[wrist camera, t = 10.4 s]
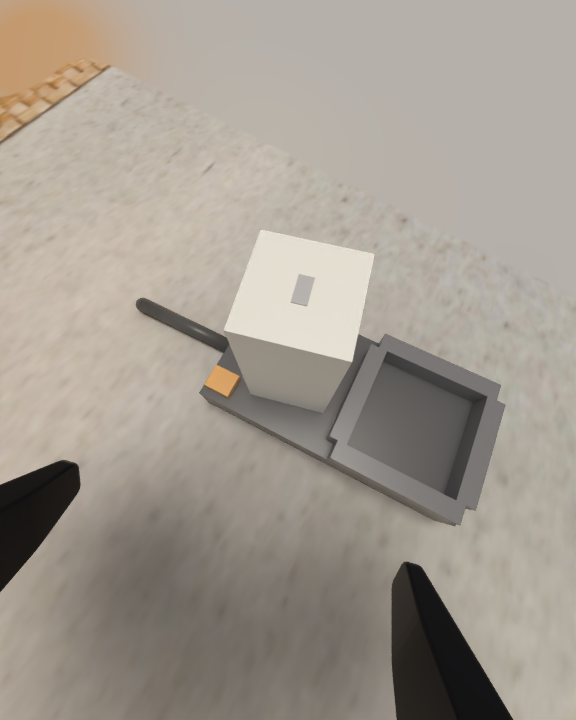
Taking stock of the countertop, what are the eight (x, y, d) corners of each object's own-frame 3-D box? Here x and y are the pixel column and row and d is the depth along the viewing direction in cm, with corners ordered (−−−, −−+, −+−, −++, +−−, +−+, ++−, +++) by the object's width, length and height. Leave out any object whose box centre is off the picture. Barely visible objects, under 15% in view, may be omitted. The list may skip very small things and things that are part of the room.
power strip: (434, 520, 20) (470, 530, 16) (107, 349, 23) (73, 323, 19) (471, 404, 22) (509, 389, 18) (170, 265, 26) (150, 229, 22)
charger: (323, 413, 19) (352, 361, 11) (250, 394, 20) (223, 329, 11) (338, 345, 21) (375, 253, 12) (270, 329, 21) (260, 228, 13)
